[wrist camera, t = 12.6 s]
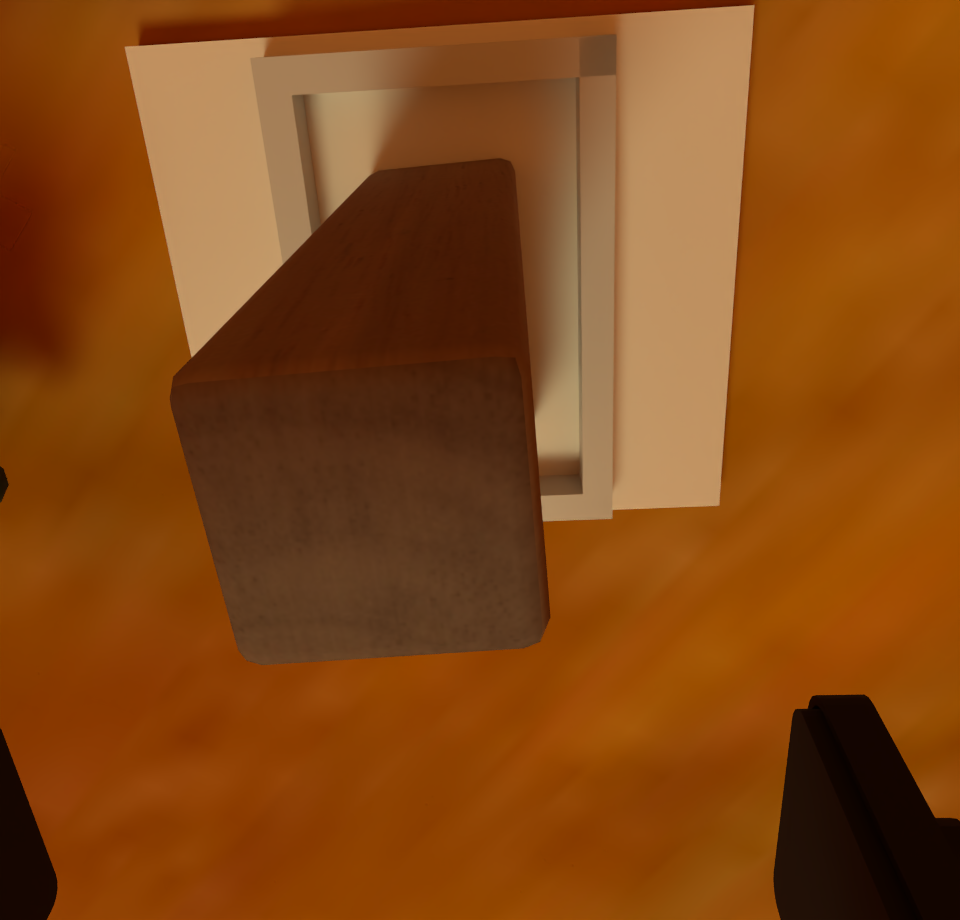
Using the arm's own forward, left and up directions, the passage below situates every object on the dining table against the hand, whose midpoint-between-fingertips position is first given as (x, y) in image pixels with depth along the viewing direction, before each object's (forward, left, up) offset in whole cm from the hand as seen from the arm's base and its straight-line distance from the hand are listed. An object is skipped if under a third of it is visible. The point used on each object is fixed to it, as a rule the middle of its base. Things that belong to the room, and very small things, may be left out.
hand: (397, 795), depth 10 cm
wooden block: (0, 0, -20) cm, 20 cm away
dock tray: (0, 0, -21) cm, 21 cm away
